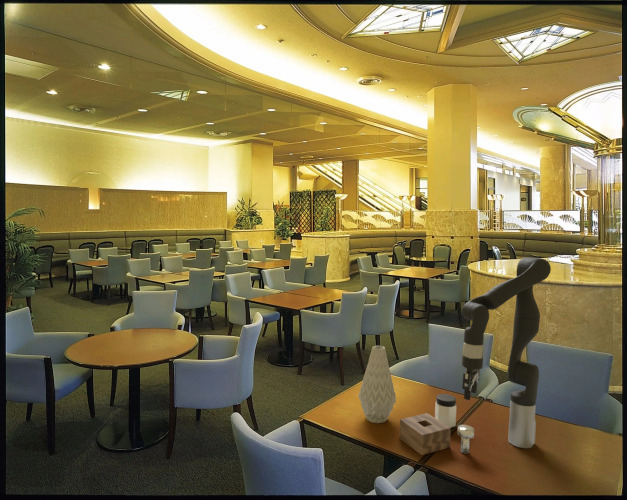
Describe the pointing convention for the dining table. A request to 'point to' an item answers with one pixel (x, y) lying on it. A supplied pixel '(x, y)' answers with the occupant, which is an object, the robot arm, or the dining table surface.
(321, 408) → the dining table surface
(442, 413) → the jar
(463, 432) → the pin
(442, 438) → the pin block
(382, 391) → the vase
